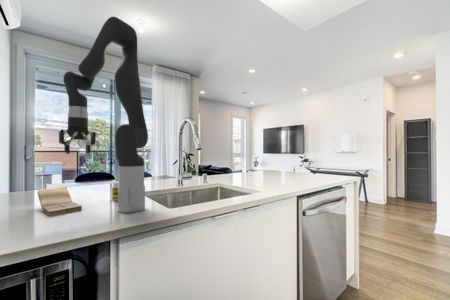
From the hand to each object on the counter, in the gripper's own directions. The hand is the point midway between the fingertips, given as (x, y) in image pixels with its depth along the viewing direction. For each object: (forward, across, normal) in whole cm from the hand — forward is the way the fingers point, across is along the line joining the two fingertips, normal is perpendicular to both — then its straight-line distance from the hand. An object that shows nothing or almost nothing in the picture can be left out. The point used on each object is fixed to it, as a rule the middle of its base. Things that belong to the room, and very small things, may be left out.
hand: (78, 153), depth 95 cm
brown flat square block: (+22, -9, -12) cm, 26 cm away
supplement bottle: (+22, +13, -10) cm, 28 cm away
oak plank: (+19, -9, -2) cm, 21 cm away
